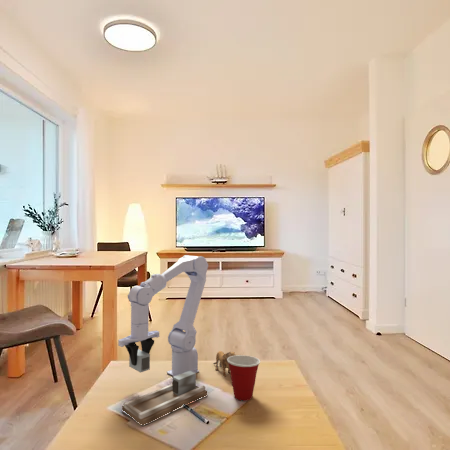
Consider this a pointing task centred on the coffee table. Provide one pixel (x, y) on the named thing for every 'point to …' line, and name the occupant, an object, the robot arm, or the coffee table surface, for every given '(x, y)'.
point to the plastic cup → (243, 375)
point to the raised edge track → (165, 398)
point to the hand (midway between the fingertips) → (139, 363)
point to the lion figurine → (223, 361)
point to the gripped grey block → (141, 361)
